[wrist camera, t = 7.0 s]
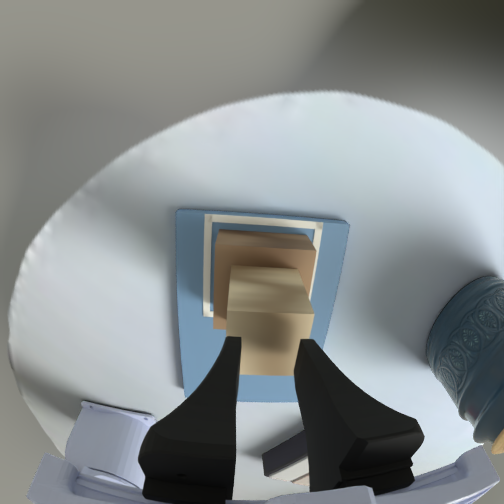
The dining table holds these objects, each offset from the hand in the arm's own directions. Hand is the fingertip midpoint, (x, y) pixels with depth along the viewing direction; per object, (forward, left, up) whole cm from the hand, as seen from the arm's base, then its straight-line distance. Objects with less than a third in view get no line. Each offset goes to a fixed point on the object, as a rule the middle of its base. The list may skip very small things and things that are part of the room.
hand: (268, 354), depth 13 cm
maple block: (0, 0, -6) cm, 6 cm away
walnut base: (0, 0, -9) cm, 9 cm away
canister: (+24, -6, -10) cm, 27 cm away
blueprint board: (0, -5, -10) cm, 11 cm away
